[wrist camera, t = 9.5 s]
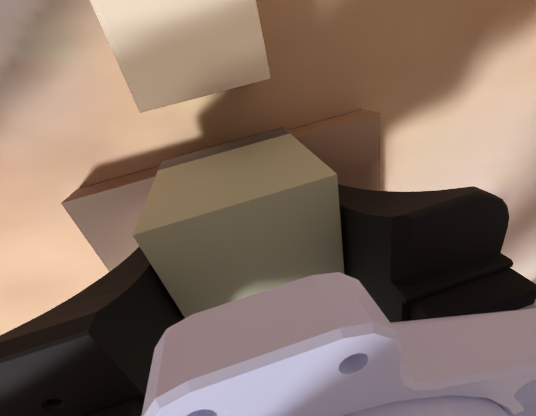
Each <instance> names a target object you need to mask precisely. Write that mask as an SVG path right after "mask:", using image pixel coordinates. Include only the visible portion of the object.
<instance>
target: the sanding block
mask: <svg viewBox="0 0 536 416" xmlns="http://www.w3.org/2000/svg"><path fill="white" fill-rule="evenodd" d="M133 237H134V238H135V240H136V242H137V243H138V245H139V246H140V248H141V249H142V251H143V253H144V254H145V256H146V257H147V259H148V260H149V262H150V264H151V265H152V267H153V268H154V270H155V272H156V273H157V275H158V276H159V278H160V279H161V281H162V283H163V284H164V286H165V287H166V289H167V290H168V292H169V294H170V295H171V297H172V298H173V300H174V301H175V303H176V305H177V306H178V308H179V309H180V311H181V312H182V314H183V316H184V317H185V318H187V317H189V316H191V315H192V314H195V313H198V312H201V311H204V310H207V309H210V308H214V307H217V306H220V305H223V304H226V303H229V302H232V301H235V300H238V299H241V298H244V297H247V296H250V295H253V294H256V293H259V292H262V291H265V290H268V289H271V288H274V287H278V286H281V285H284V284H287V283H290V282H293V281H296V280H299V279H302V278H305V277H308V276H311V275H319V274H327V273H336V272H340V273H342V274H344V262H343V248H342V234H341V220H340V206H339V192H338V178H337V174H336V173H335V172H334V171H333V170H332V169H331V168H330V167H328V166H327V165H326V164H325V163H324V162H323V161H321V160H320V159H319V158H318V157H317V156H316V155H314V154H313V153H312V152H311V151H310V150H309V149H307V148H306V147H305V146H304V145H303V144H302V143H300V142H299V141H298V140H297V139H296V138H295V137H293V136H292V135H291V134H290V133H289V132H288V131H287V130H285V129H284V128H283V127H282V128H279V129H275V130H271V131H268V132H264V133H261V134H257V135H253V136H250V137H246V138H243V139H239V140H236V141H232V142H228V143H225V144H221V145H218V146H214V147H210V148H207V149H203V150H200V151H196V152H193V153H189V154H185V155H182V156H178V157H175V158H171V159H167V160H164V161H161V164H160V166H159V169H158V171H157V174H156V177H155V179H154V182H153V184H152V187H151V189H150V192H149V194H148V197H147V199H146V202H145V205H144V207H143V210H142V212H141V215H140V217H139V220H138V222H137V225H136V227H135V230H134V233H133Z"/></svg>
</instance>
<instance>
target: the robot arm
mask: <svg viewBox="0 0 536 416" xmlns="http://www.w3.org/2000/svg"><path fill="white" fill-rule="evenodd" d="M338 192H339V206H340V220H341V234H342V248H343V262H344V274H342V273H340V272H336V273H327V274H319V275H311V276H308V277H305V278H302V279H299V280H296V281H293V282H290V283H287V284H284V285H281V286H278V287H274V288H271V289H268V290H265V291H262V292H259V293H256V294H253V295H250V296H247V297H244V298H241V299H238V300H235V301H232V302H229V303H226V304H223V305H220V306H217V307H214V308H210V309H207V310H204V311H201V312H198V313H195V314H192V315H191V316H189V317H187V318H185V317H184V316H183V314H182V312H181V311H180V309H179V308H178V306H177V305H176V303H175V301H174V300H173V298H172V297H171V295H170V294H169V292H168V290H167V289H166V287H165V286H164V284H163V283H162V281H161V279H160V278H159V276H158V275H157V273H156V272H155V270H154V268H153V267H152V265H151V264H150V262H149V260H148V259H147V257H146V256H145V254H144V253H143V251H142V249H141V248H140V246H139V247H138V248H137V249H136V250H135V251H134V252H133V253H132V254H131V255H130V256H128V257H127V258H126V259H125V260H124V261H123V262H121V263H120V264H119V265H118V266H117V267H115V268H114V269H113V270H111V271H110V272H109V273H108V274H106V275H105V276H103V277H102V278H101V279H99V280H98V281H96V282H95V283H93V284H92V285H90V286H89V287H87V288H86V289H84V290H83V291H81V292H80V293H78V294H77V295H75V296H73V297H72V298H70V299H68V300H67V301H65V302H63V303H62V304H60V305H58V306H56V307H55V308H53V309H51V310H49V311H48V312H46V313H44V314H42V315H40V316H38V317H36V318H34V319H32V320H30V321H29V322H27V323H25V324H23V325H21V326H19V327H17V328H15V329H13V330H11V331H9V332H7V333H5V334H3V335H1V336H0V416H536V284H535V283H533V282H531V281H530V280H528V279H527V278H525V277H524V276H522V275H520V274H519V273H517V272H516V271H514V270H513V269H511V268H509V267H512V265H513V262H512V260H511V259H509V258H508V257H506V256H504V255H503V254H501V253H500V252H501V248H502V245H503V241H504V238H505V234H506V231H507V227H508V221H509V213H508V208H507V205H506V204H505V202H504V201H503V199H501V198H499V197H497V196H495V195H493V194H491V193H488V192H486V191H484V190H481V189H479V188H476V187H465V188H457V189H448V190H439V191H422V192H387V191H375V190H366V189H359V188H354V187H349V186H344V185H340V184H338Z"/></svg>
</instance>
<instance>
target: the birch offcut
mask: <svg viewBox="0 0 536 416" xmlns="http://www.w3.org/2000/svg"><path fill="white" fill-rule="evenodd" d="M90 2H91V4H92V6H93V9H94V11H95V13H96V15H97V18H98V20H99V22H100V24H101V26H102V29H103V31H104V33H105V35H106V38H107V40H108V42H109V44H110V47H111V49H112V51H113V53H114V56H115V58H116V60H117V62H118V65H119V67H120V69H121V71H122V74H123V76H124V78H125V80H126V83H127V85H128V87H129V89H130V92H131V94H132V96H133V98H134V101H135V103H136V105H137V107H138V110H139V112H140V113H141V112H145V111H149V110H153V109H157V108H160V107H164V106H168V105H172V104H176V103H180V102H183V101H187V100H191V99H195V98H199V97H202V96H206V95H210V94H214V93H218V92H222V91H225V90H229V89H233V88H237V87H241V86H245V85H248V84H252V83H256V82H260V81H264V80H268V79H271V76H270V71H269V66H268V61H267V55H266V50H265V45H264V40H263V35H262V30H261V24H260V19H259V14H258V9H257V4H256V0H90Z"/></svg>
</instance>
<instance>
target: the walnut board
mask: <svg viewBox="0 0 536 416" xmlns="http://www.w3.org/2000/svg"><path fill="white" fill-rule="evenodd" d="M287 131H288V132H289V133H290V134H291V135H292V136H293V137H295V138H296V139H297V140H298V141H299V142H300V143H302V144H303V145H304V146H305V147H306V148H307V149H309V150H310V151H311V152H312V153H313V154H314V155H316V156H317V157H318V158H319V159H320V160H321V161H323V162H324V163H325V164H326V165H327V166H328V167H330V168H331V169H332V170H333V171H334V172H335V173H336V174H337V178H338V184H340V185H344V186H349V187H354V188H359V189H366V190H375V191H380V139H379V113H375V112H371V111H366V110H359V111H355V112H351V113H348V114H344V115H341V116H337V117H334V118H330V119H326V120H323V121H319V122H316V123H312V124H308V125H305V126H301V127H298V128H294V129H291V130H287ZM158 169H159V166H158V167H155V168H151V169H147V170H144V171H140V172H137V173H133V174H130V175H126V176H122V177H119V178H115V179H112V180H108V181H104V182H101V183H97V184H94V185H90V186H87V187H83V188H79V189H77V190H76V191H75V192H73V193H72V194H71V195H70V196H69V197H68V198H67V199H65V200H64V201H63V202H62V203H61V204H62V205H63V207H64V208H65V209H66V211H67V212H68V214H69V215H70V216H71V218H72V219H73V221H74V222H75V224H76V225H77V226H78V228H79V229H80V231H81V232H82V233H83V235H84V236H85V238H86V239H87V240H88V242H89V243H90V245H91V246H92V248H93V249H94V250H95V252H96V253H97V255H98V256H99V257H100V259H101V260H102V262H103V263H104V264H105V266H106V267H107V269H108V270H109V272H110V271H111V270H113V269H114V268H115V267H117V266H118V265H119V264H120V263H121V262H123V261H124V260H125V259H126V258H127V257H128V256H130V255H131V254H132V253H133V252H134V251H135V250H136V249H137V248H138V247H139V245H138V243H137V242H136V240H135V238H134V237H133V233H134V230H135V227H136V225H137V222H138V220H139V217H140V215H141V212H142V210H143V207H144V205H145V202H146V199H147V197H148V194H149V192H150V189H151V187H152V184H153V182H154V179H155V177H156V174H157V171H158Z"/></svg>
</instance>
